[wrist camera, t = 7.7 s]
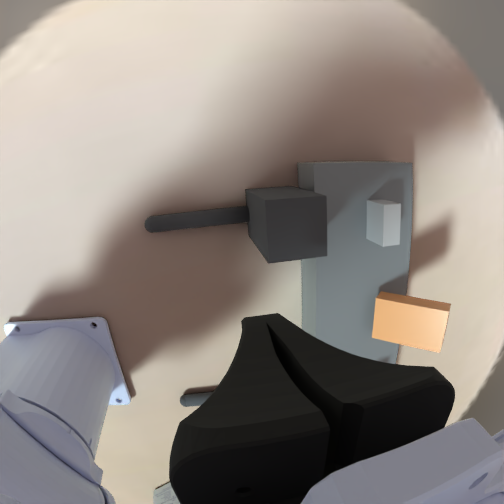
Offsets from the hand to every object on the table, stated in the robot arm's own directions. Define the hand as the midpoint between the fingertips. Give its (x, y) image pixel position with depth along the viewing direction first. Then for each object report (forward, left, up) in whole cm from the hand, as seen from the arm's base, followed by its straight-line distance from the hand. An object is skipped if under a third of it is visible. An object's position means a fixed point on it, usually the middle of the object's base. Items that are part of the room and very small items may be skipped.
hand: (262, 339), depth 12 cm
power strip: (+8, -4, -10) cm, 14 cm away
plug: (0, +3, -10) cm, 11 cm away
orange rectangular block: (+9, -4, -7) cm, 12 cm away
